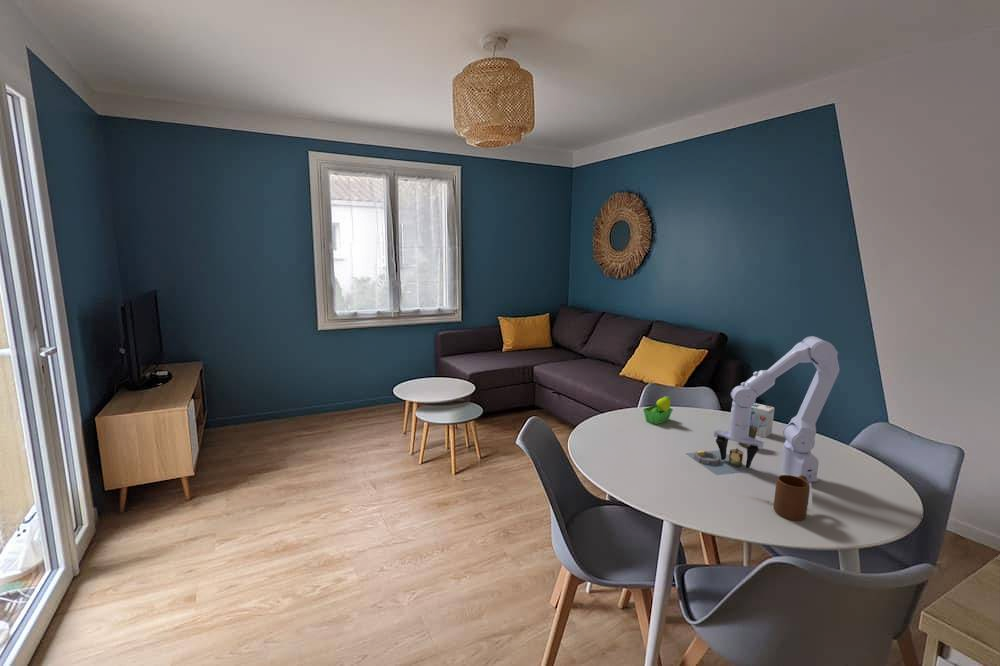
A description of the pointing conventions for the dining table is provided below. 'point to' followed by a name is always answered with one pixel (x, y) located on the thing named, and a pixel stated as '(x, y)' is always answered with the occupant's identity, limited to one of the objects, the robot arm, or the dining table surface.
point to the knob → (736, 458)
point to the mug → (791, 497)
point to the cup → (750, 434)
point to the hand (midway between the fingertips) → (735, 462)
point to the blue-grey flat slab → (716, 462)
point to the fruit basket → (659, 411)
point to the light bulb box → (762, 419)
